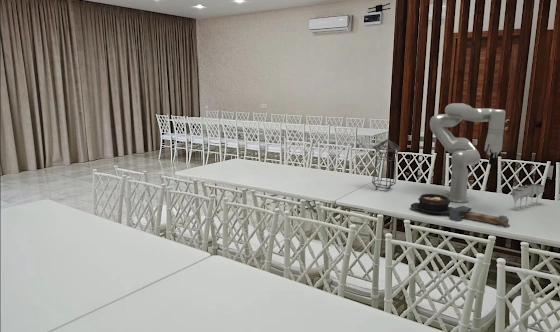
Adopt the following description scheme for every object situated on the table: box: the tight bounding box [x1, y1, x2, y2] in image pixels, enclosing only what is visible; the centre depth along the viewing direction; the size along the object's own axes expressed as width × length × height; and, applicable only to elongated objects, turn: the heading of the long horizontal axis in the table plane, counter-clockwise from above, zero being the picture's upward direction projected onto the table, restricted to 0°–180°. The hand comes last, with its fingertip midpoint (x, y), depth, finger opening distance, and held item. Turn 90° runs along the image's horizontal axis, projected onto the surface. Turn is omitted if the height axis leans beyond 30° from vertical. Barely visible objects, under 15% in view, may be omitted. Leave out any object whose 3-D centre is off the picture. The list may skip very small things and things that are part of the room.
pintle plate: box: [494, 223, 511, 228], centre depth 204 cm, size 7×7×1 cm
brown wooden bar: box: [461, 211, 510, 226], centre depth 209 cm, size 22×5×4 cm, turn 50°
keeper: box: [449, 205, 472, 222], centre depth 214 cm, size 5×12×6 cm, turn 123°
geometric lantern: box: [371, 139, 402, 192], centre depth 271 cm, size 16×16×35 cm
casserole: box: [410, 193, 454, 215], centre depth 226 cm, size 25×19×8 cm
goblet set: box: [509, 183, 545, 212], centre depth 235 cm, size 28×6×13 cm, turn 119°
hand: (492, 164), depth 223 cm, fingers closed
